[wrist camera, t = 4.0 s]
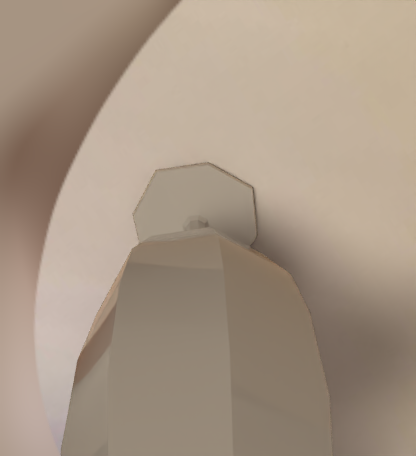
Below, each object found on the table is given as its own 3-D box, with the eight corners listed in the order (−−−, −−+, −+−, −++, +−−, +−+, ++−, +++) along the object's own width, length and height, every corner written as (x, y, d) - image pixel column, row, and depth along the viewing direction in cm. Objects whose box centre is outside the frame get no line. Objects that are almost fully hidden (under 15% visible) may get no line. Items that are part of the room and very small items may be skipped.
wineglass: (243, 285, 30) (340, 686, 10) (126, 267, 29) (-17, 668, 9) (270, 172, 27) (488, 429, 7) (142, 148, 26) (-19, 365, 6)
